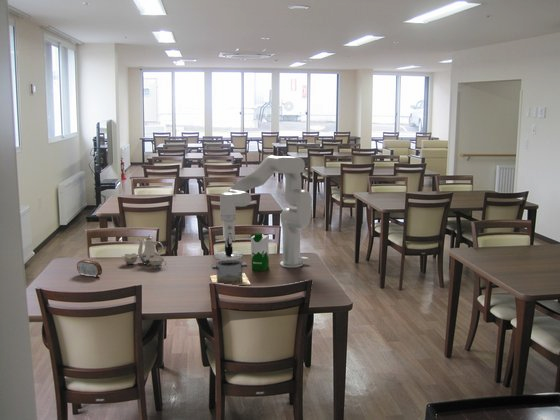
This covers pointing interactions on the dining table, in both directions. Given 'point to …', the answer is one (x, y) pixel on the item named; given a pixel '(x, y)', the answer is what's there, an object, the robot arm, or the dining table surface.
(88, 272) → the tin
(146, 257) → the chinaware
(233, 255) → the lid
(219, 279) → the pot
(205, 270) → the dining table surface
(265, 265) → the soya milk
